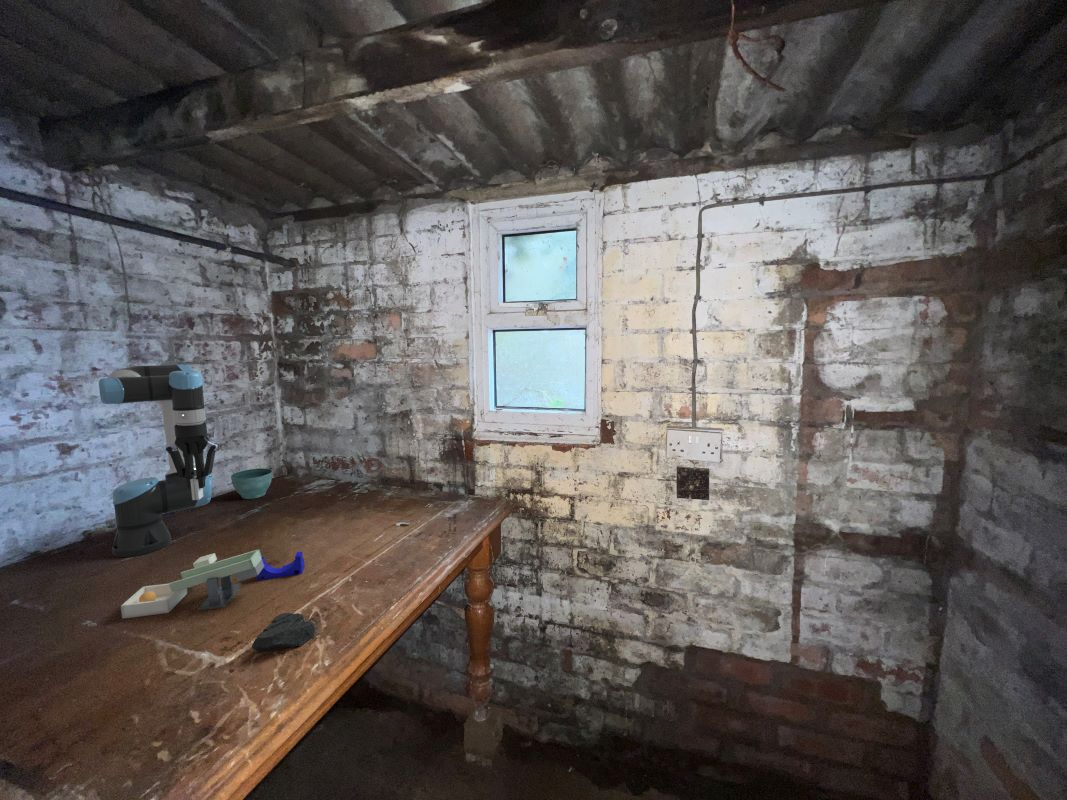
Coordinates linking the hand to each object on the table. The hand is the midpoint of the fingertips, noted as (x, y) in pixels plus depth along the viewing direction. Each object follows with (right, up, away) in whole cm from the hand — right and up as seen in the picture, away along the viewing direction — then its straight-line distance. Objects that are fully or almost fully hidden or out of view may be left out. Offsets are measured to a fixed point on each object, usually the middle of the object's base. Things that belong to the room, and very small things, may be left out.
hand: (197, 498), depth 131 cm
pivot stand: (+16, -25, -12) cm, 32 cm away
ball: (-1, -23, -16) cm, 28 cm away
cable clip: (+25, -24, +1) cm, 35 cm away
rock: (+44, -28, -30) cm, 60 cm away
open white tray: (+1, -25, -15) cm, 30 cm away
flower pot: (-27, -15, +69) cm, 75 cm away
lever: (+15, -20, -8) cm, 27 cm away
